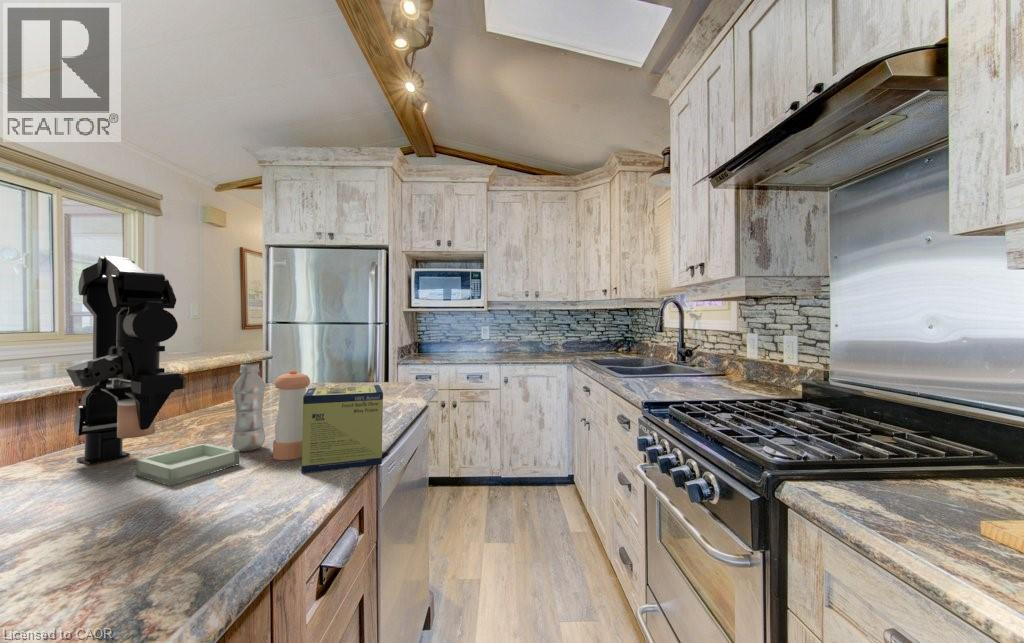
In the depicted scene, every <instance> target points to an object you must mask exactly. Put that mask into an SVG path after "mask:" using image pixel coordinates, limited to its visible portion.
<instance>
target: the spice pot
mask: <svg viewBox="0 0 1024 643" xmlns="http://www.w3.org/2000/svg"><path fill="white" fill-rule="evenodd" d="M156 418H157V416H156V417H155V419H154V420H153V422H152V424H151V425H150V427H149V428H148V429H144V430H141V429H140V427H139V422H138V416H137V409H136V402H135V400H133V399H132V398H130V399H123V400H119V401H118V407H117V438H123V439H135V438H140V437H141V438H142V437H147V436H151V435H153V434H155V433H156Z"/></svg>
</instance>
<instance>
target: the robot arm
mask: <svg viewBox="0 0 1024 643" xmlns="http://www.w3.org/2000/svg"><path fill="white" fill-rule="evenodd" d="M77 287H78V288H77V289H78V290H77V291H78V294H79V295H78V296H82V304H83V306H84V307H85V308H86V309H87V310H88V311H89V313H90V314H91V315H92V317H93V318H92V322H93V323H92V325H93V327H92V328H93V330H92V359H90V360H87V361H85V362H82V363H78V364H75V365H72V366H68V367H66V368H65V370H66V372H67V374H68V376H69V378H70V379H71V382H72V384H73V385H74V387H81V388H83V389H84V388H85V389H86V388H88V389H87V390H86V392H85V393H84V394H83V395H82V396H81V401H80V405H78V406H77V408H76V413H75V417H74V421H73V432H74V434H75V435H77V436H78V437H79V436H82V435H84V456H81V457H77V458H76V462H80V463H82V464H83V463H84V464H87V465H94V464H100V463H103V462H108V461H111V460H112V461H113V460H117V459H120V458H121V459H122V458H125V457H130V456H131V453H130V452H125V451H124V450H123V441H124V438H117V407H118V401H119V400H123V399H130V398H132V399H133V400H135V402H136V409H137V416H138V422H139V427H140V429H141V430H144V429H148V428H149V427H150V425H151V424H152V422H153V420H154V419H155V417H156V418H157V416H158V413H159V412H160V411H161V409H162V408H163V406H164V404H165V402H166V401H167V400H168V399H169V397H170V396H171V394H172V393H174V392H175V390H176V391H177V390H183V389H186V377H185V376H184V375H183V374H181V373H178V372H172V371H171V372H170V371H168V372H167V371H165V368H164V367H160V359H161V358H160V354H161V353H160V352H165V351H166V345H161V343H163V342H165V341H168V340H169V339H171V338H172V337H174V336H175V334H176V332H177V330H178V326H179V325H178V321H177V318H176V317H175V315H174V314H172V313H171V312H170V311H168V310H166V309H169V310H170V309H173V310H174V309H175V306H176V303H177V297H176V295H175V291H174V289H173V286H172V285H171V282H170V281H169V279H168V278H166V276H165V274H164V273H163V272H158V271H157V272H156V271H146V270H143V269H142V268H140V267H139V266H138V265H137V264H136V263H135V260H134V259H130V258H129V257H128V258H127V257H120V256H111V255H110V256H109V255H104V256H99V257H98V260H97V262H96V263H94V264H92V265H90V266H88V267H86V268H83V269H82V271H81V273H80V276H79V280H78V286H77ZM155 420H156V419H155Z"/></svg>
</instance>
